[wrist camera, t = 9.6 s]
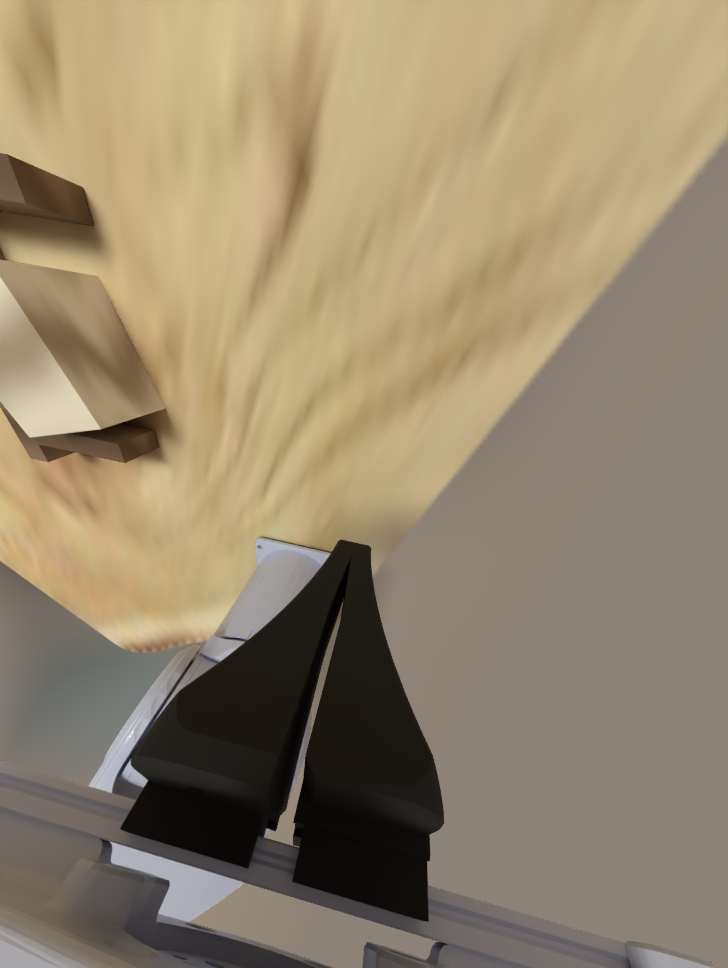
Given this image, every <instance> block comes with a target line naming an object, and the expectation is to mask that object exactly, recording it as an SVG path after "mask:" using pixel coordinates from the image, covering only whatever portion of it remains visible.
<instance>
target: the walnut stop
mask: <svg viewBox="0 0 728 968" xmlns="http://www.w3.org/2000/svg"><path fill="white" fill-rule="evenodd" d="M0 211H4V212H11V213H17V214H23V215H29V216H35V217H42V218H48V219H54V220H60V221H66V222H73V223H79V224H85V225H91V226H94V225H93V222H92V218H91V215H90V212H89V208H88V205H87V201H86V198H85V195H84V191H83V188H82V187H81V186H78V185H76V184H74V183H72V182H69V181H67V180H65V179H62V178H60V177H58V176H56V175H53V174H51V173H49V172H46V171H44V170H42V169H39V168H37V167H35V166H33V165H30V164H28V163H26V162H23V161H21V160H19V159H16V158H14V157H12V156H10V155H7V154H1V153H0ZM0 260H5V259H4V257H3V255H2V253H1V251H0ZM0 407H1V409H2V411H3V412H4V414H5V416H6V417H7V419H8V421H9V422H10V424H11V426H12V427H13V429H14V431H15V433H16V434H17V436H18V438H19V439H20V441H21V443H22V444H23V446H24V448H25V449H26V451H27V453H28V454H29V456H30V458H32V459H37V460H41V461H46V462H50V461H52V460H55V459H58V458H61V457H63V456H66V455H69V454H72V453H74V452H77V453H81V454H86V455H90V456H95V457H100V458H104V459H109V460H114V461H118V462H123V463H126V462H128V461H130V460H133V459H135V458H137V457H139V456H141V455H143V454H145V453H148V452H150V451H152V450H154V449H156V448H158V447H159V446H158V442H157V439H156V435H155V432H154V430H151V429H146V428H141V427H136V426H132V425H127V424H122V423H119V424H116V425H113V426H110V427H106V428H103V429H99V430H90V431H82V432H73V433H65V434H56V435H48V436H39V437H31V438H30V437H29V436H28V435H27V434H26V433H25V431H24V430H23V429H22V428H21V426H20V425H19V424H18V423H17V421H16V420H15V419H14V418H13V417H12V415H11V414H10V413H9V412H8V410H7V409H6V408H5V407H4V405H3V404H2V403H1V402H0Z"/></svg>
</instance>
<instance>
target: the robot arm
mask: <svg viewBox="0 0 728 968" xmlns="http://www.w3.org/2000/svg"><path fill="white" fill-rule="evenodd" d="M255 549H256V558H257V569H256V570H255V572H254V573H253V575H252V577H251V578H250V580H249V581H248V583H247V584H246V586H245V587H244V589H243V590H242V592H241V594H240V595H239V597H238V598H237V600H236V601H235V603H234V604H233V606H232V607H231V609H230V611H229V612H228V614H227V615H226V617H225V618H224V620H223V621H222V623H221V624H220V626H219V628H218V629H217V631H216V632H215V634H214V635H211V636H210V638H209V639H208V641H207V643H206V644H205V646H204V647H203V649H202V650H201V652H200V653H198V652H199V650H200V647H199V646H196V645H192V646H190V647H189V648H186V649H184V650H182V651H180V652H178V653H177V654H176V655H175V657H174V658H173V659H172V660H171V661H170V663H169V664H168V665H167V666H166V668H165V669H164V670H163V672H162V673H161V674H160V676H159V677H158V678H157V680H156V681H155V682H154V684H153V685H152V686H151V688H150V689H149V691H148V692H147V693H146V695H145V696H144V698H143V699H142V700H141V702H140V703H139V705H138V706H137V708H136V709H135V710H134V712H133V713H132V715H131V716H130V718H129V719H128V721H127V722H126V724H125V725H124V727H123V728H122V730H121V731H120V733H119V734H118V736H117V737H116V739H115V741H114V742H113V744H112V745H111V747H110V749H109V751H108V752H107V754H106V756H105V760H104V763H103V764H102V766H101V767H100V769H99V770H98V772H97V774H96V775H95V777H94V778H93V780H92V781H91V783H90V784H89V786H86V785H83V784H79V783H75V782H72V781H69V780H65V779H62V778H59V777H55V776H52V775H48V774H44V773H42V772H38V771H35V770H31V769H28V768H24V767H20V766H17V765H14V764H11V763H7V762H3V761H0V968H332V967H329V966H327V965H324V964H321V963H318V962H316V961H312V960H310V959H307V958H304V957H301V956H298V955H296V954H293V953H290V952H287V951H284V950H281V949H278V948H275V947H272V946H269V945H266V944H262V943H259V942H256V941H253V940H250V939H246V938H243V937H239V936H236V935H233V934H229V933H226V932H223V931H218V930H215V929H212V928H208V927H204V926H201V925H197V924H194V923H190V921H191V920H193V919H194V918H196V917H197V916H199V915H200V914H202V913H203V912H205V911H206V910H208V909H209V908H211V907H212V906H214V905H215V904H217V903H218V902H220V901H221V900H223V899H224V898H225V897H227V896H228V895H229V894H231V893H232V892H233V891H235V890H236V889H238V888H239V887H240V886H242V885H243V883H248V884H251V885H254V886H258V887H261V888H264V889H267V890H271V891H274V892H277V893H281V894H284V895H287V896H291V897H294V898H297V899H300V900H304V901H307V902H310V903H314V904H317V905H320V906H323V907H327V908H330V909H333V910H337V911H340V912H343V913H346V914H350V915H353V916H356V917H360V918H363V919H366V920H370V921H373V922H376V923H379V924H383V925H386V926H390V927H393V928H396V929H399V930H403V931H406V932H409V933H412V934H416V935H419V936H422V937H425V938H429V939H432V940H435V941H439V942H436V943H435V944H434V945H433V946H432V949H431V952H430V955H429V958H428V959H427V960H424V959H422V958H419V957H417V956H414V955H411V954H408V953H405V952H401V951H398V950H395V949H391V948H388V947H384V946H380V945H377V944H373V943H369V942H367V943H366V945H365V946H364V956H363V968H717V967H716V966H715V965H714V964H713V963H712V962H710V961H706V960H703V959H700V958H697V957H693V956H690V955H686V954H683V953H679V952H676V951H673V950H669V949H666V948H662V947H658V946H654V945H650V944H646V943H639V942H633V941H626V943H623V942H620V941H616V940H613V939H609V938H606V937H603V936H599V935H596V934H592V933H589V932H586V931H582V930H578V929H575V928H572V927H568V926H565V925H562V924H558V923H555V922H551V921H548V920H544V919H541V918H537V917H534V916H531V915H527V914H524V913H521V912H517V911H514V910H510V909H507V908H503V907H500V906H496V905H493V904H490V903H486V902H483V901H479V900H476V899H473V898H469V897H466V896H462V895H459V894H456V893H452V892H449V891H445V890H442V889H438V888H435V887H432V886H428V881H427V880H428V879H427V861H429V860H430V838H429V834H431V833H434V832H436V831H438V830H439V829H440V828H441V827H442V826H443V824H444V811H443V804H442V797H441V790H440V785H439V780H438V775H437V771H436V767H435V763H434V759H433V755H432V753H431V751H430V748H429V746H428V744H427V742H426V740H425V738H424V736H423V733H422V731H421V729H420V727H419V724H418V722H417V720H416V718H415V715H414V713H413V711H412V708H411V706H410V703H409V701H408V699H407V696H406V694H405V691H404V689H403V686H402V683H401V681H400V678H399V676H398V673H397V670H396V667H395V665H394V662H393V659H392V656H391V653H390V650H389V647H388V644H387V640H386V637H385V634H384V630H383V627H382V623H381V619H380V615H379V611H378V606H377V602H376V597H375V591H374V585H373V579H372V570H371V548H370V546H368V545H363V544H358V543H354V542H349V541H345V540H339V541H338V543H337V544H336V546H335V548H334V549H333V551H332V553H328V552H324V551H320V550H315V549H311V548H306V547H302V546H297V545H293V544H288V543H284V542H280V541H275V540H271V539H266V538H262V537H258V538H257V539H256V540H255ZM343 599H344V601H343ZM342 602H343V607H342V614H341V621H340V625H339V629H338V633H337V637H336V641H335V645H334V649H333V653H332V657H331V660H330V664H329V668H328V672H327V676H326V680H325V684H324V688H323V691H322V695H321V699H320V703H319V707H318V710H317V714H316V718H315V722H314V725H313V729H312V733H311V737H310V740H309V736H310V730H311V706H312V702H313V698H314V694H315V690H316V686H317V682H318V678H319V674H320V670H321V666H322V662H323V659H324V656H325V652H326V649H327V646H328V643H329V640H330V638H331V634H332V632H333V629H334V626H335V623H336V620H337V617H338V614H339V611H340V608H341V605H342ZM308 741H309V744H308ZM307 746H308V748H307ZM306 750H307V752H306ZM305 754H306V757H305ZM304 757H305V768H304V779H303V784H302V788H301V792H300V796H299V800H298V804H297V809H296V813H295V817H294V823H295V830H294V834H293V845H295V846H299V848H298V847H295V846H291V845H288V844H284V843H281V842H277V841H274V840H271V839H267V836H268V834H269V832H270V830H273V831H276V829H277V825H278V821H279V818H280V815H281V814H282V813H283V812H284V811H285V810H286V808H287V803H288V799H289V797H290V795H291V793H292V791H293V789H294V786H295V784H296V781H297V779H298V776H299V773H300V770H301V767H302V764H303V761H304Z"/></svg>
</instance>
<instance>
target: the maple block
mask: <svg viewBox="0 0 728 968" xmlns="http://www.w3.org/2000/svg"><path fill="white" fill-rule="evenodd" d="M0 402H1V403H2V404H3V405H4V407H5V408H6V409H7V410H8V412H9V413H10V414H11V415H12V417H13V418H14V419H15V420H16V421H17V423H18V424H19V425H20V426H21V428H22V429H23V430H24V431H25V433H26V434H27V435H28V436H29V437H30V438H31V437H39V436H48V435H56V434H65V433H73V432H82V431H90V430H99V429H103V428H106V427H110V426H113V425H116V424H119V423H122V422H125V421H128V420H131V419H134V418H138V417H141V416H144V415H147V414H150V413H153V412H156V411H159V410H162V409H166V408H165V406H164V404H163V402H162V400H161V398H160V396H159V394H158V392H157V390H156V388H155V386H154V384H153V382H152V381H151V379H150V377H149V375H148V373H147V371H146V369H145V367H144V365H143V363H142V361H141V359H140V357H139V355H138V353H137V351H136V349H135V347H134V345H133V343H132V342H131V340H130V338H129V336H128V334H127V332H126V330H125V328H124V326H123V324H122V322H121V320H120V318H119V316H118V314H117V312H116V310H115V308H114V306H113V304H112V303H111V301H110V299H109V297H108V295H107V293H106V291H105V289H104V287H103V285H102V283H101V281H100V279H99V277H98V276H94V275H88V274H82V273H76V272H70V271H64V270H59V269H53V268H47V267H41V266H35V265H29V264H23V263H18V262H12V261H6V260H0Z"/></svg>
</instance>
